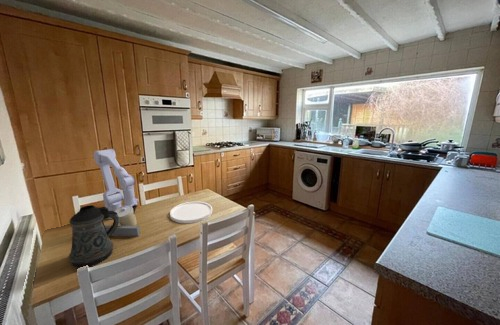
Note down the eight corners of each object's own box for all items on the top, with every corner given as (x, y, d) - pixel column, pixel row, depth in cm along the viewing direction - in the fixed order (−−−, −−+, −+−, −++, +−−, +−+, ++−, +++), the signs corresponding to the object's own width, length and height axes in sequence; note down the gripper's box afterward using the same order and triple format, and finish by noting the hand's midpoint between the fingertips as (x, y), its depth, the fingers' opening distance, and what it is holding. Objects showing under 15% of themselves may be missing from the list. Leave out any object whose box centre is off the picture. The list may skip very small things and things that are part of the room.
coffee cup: (141, 221, 124) (136, 207, 117) (130, 233, 116) (123, 219, 110) (129, 217, 126) (123, 203, 119) (117, 228, 119) (109, 214, 112)
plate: (213, 221, 130) (213, 217, 129) (167, 226, 123) (166, 222, 123) (211, 202, 156) (211, 199, 156) (172, 206, 150) (172, 203, 149)
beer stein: (62, 262, 92) (50, 212, 86) (106, 238, 110) (99, 195, 104) (84, 273, 86) (73, 220, 80) (127, 247, 103) (120, 201, 97)
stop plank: (101, 235, 112) (100, 227, 111) (104, 233, 114) (103, 225, 113) (138, 236, 112) (137, 228, 111) (140, 233, 115) (139, 225, 113)
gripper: (129, 201, 113) (132, 223, 117) (142, 191, 127) (144, 211, 131) (116, 201, 113) (119, 223, 117) (130, 191, 127) (133, 211, 131)
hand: (132, 217), depth 124 cm, fingers closed, pressing on coffee cup
